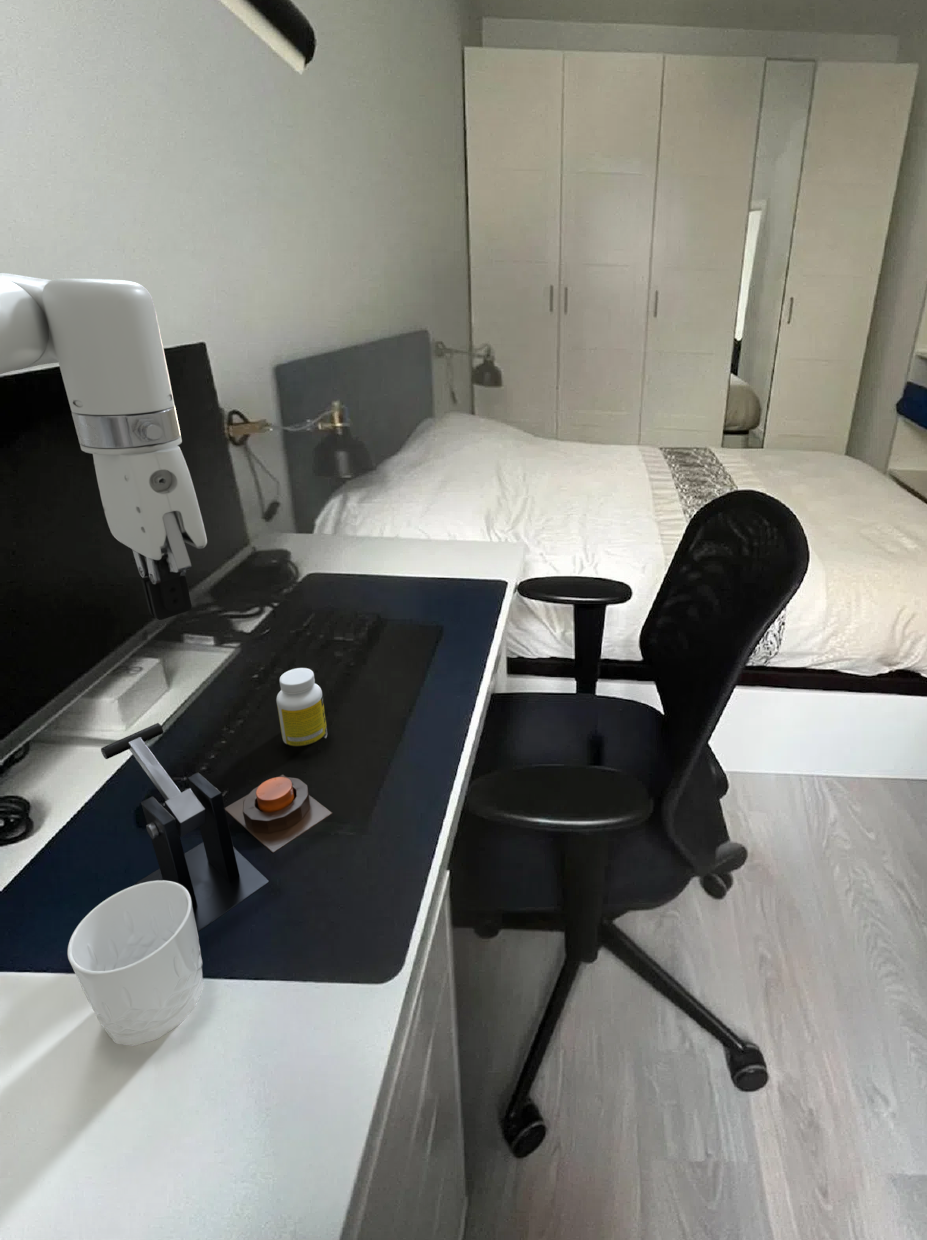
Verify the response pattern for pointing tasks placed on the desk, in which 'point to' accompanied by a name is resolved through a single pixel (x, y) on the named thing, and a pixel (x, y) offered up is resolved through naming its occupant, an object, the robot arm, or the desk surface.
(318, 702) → the supplement bottle
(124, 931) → the white cup
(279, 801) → the button
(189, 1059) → the desk surface
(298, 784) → the button box
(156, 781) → the lever
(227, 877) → the bracket
